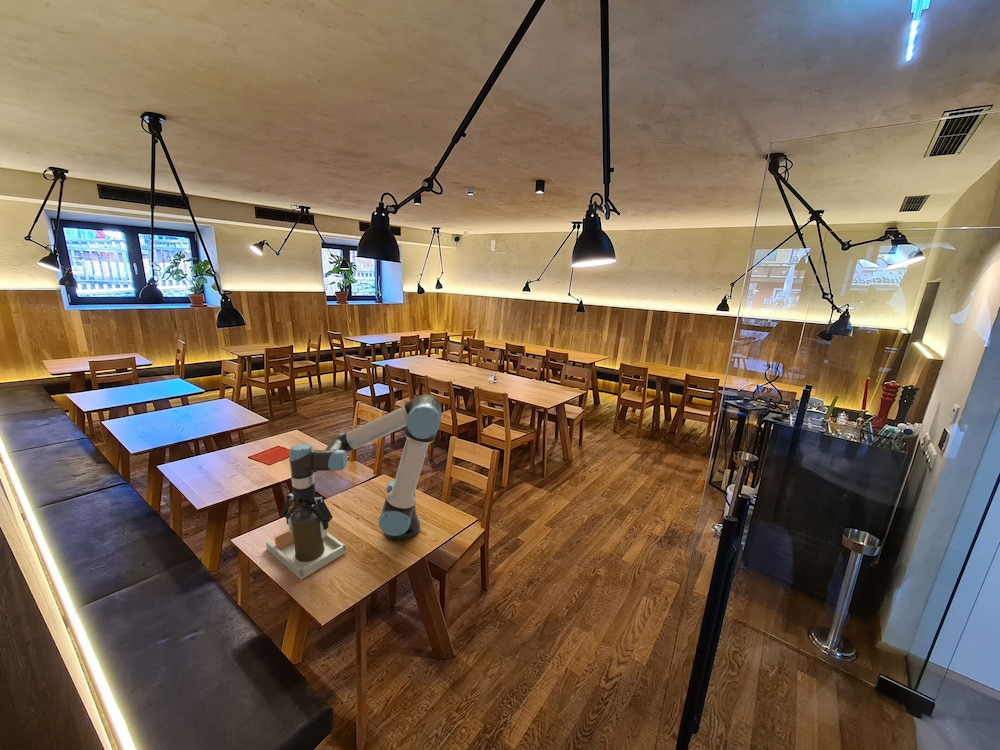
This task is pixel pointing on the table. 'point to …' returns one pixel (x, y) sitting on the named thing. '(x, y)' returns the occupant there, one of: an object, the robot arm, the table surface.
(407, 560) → the table surface
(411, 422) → the robot arm
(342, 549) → the white tray
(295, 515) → the canister
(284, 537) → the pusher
